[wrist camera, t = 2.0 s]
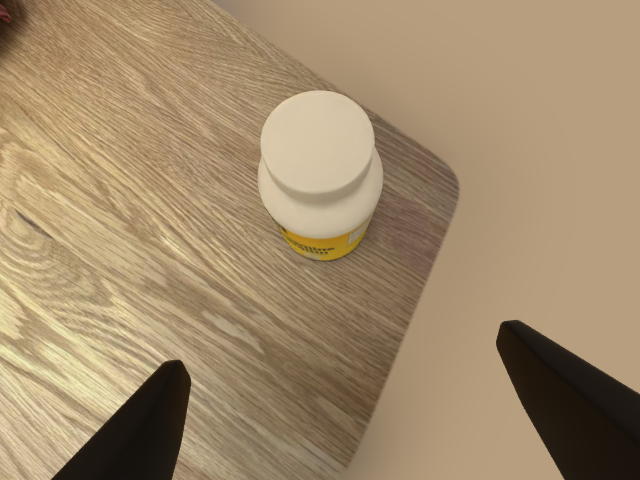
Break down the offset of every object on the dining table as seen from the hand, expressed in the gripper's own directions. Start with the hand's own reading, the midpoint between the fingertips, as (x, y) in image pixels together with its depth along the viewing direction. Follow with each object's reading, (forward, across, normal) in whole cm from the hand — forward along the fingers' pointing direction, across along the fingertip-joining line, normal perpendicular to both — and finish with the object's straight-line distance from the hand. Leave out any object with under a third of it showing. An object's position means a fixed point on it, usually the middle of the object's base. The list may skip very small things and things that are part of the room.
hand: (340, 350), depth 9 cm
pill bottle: (+15, 0, +4) cm, 16 cm away
